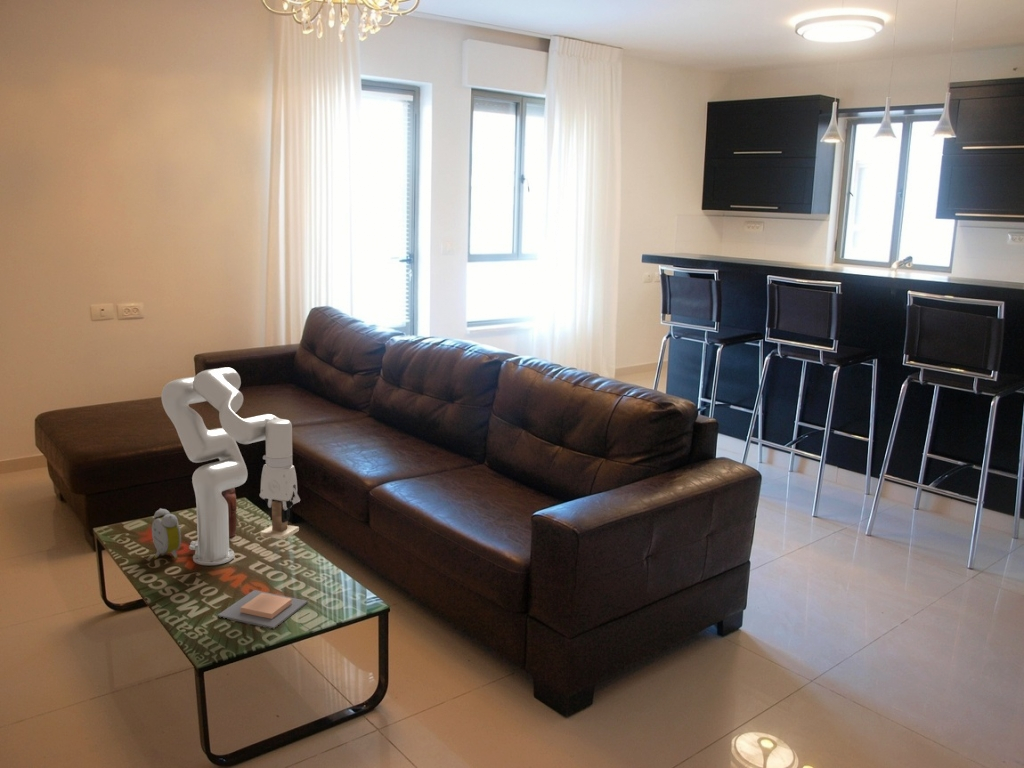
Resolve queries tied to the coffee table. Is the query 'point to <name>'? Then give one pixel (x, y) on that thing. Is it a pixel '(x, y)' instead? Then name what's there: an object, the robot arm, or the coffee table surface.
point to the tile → (266, 605)
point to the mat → (237, 615)
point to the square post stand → (278, 524)
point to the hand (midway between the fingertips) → (280, 519)
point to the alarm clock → (166, 533)
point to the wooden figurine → (231, 509)
